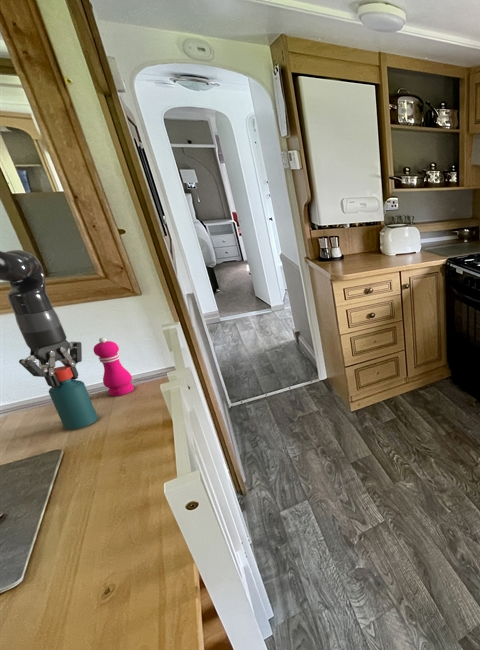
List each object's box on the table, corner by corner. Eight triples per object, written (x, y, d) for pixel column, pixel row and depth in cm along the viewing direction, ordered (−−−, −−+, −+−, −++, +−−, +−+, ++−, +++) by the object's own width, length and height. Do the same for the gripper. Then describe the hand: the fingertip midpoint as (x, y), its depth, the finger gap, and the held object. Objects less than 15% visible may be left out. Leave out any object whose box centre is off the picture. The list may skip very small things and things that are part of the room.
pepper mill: (118, 386, 132) (98, 333, 124) (140, 385, 132) (122, 333, 125) (102, 397, 125) (80, 342, 117) (125, 396, 126) (105, 341, 118)
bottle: (58, 432, 107) (35, 379, 101) (72, 419, 114) (50, 368, 108) (91, 426, 110) (69, 374, 104) (102, 414, 116) (82, 364, 110)
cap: (77, 375, 108) (74, 366, 107) (61, 382, 104) (57, 373, 103) (64, 374, 109) (60, 365, 108) (47, 381, 105) (43, 372, 104)
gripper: (21, 337, 94) (48, 396, 100) (81, 318, 107) (102, 372, 113) (-5, 335, 95) (23, 394, 101) (57, 317, 108) (79, 370, 114)
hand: (65, 382), depth 107 cm, fingers closed on cap, 4 cm apart
